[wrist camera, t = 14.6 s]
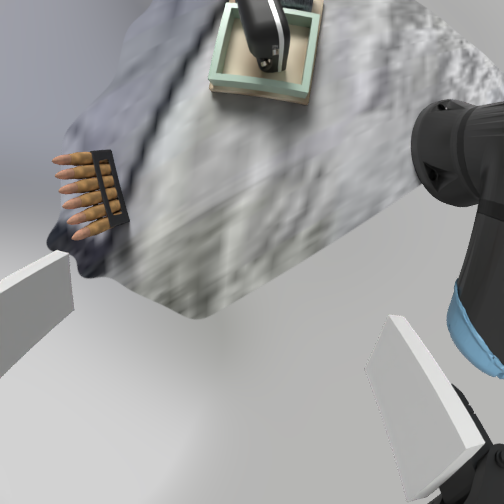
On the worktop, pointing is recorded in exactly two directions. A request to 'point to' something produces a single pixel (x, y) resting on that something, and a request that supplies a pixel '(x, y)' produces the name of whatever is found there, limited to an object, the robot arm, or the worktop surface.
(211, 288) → the worktop surface
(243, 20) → the battery charger
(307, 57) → the mint green tray
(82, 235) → the ammunition clip
